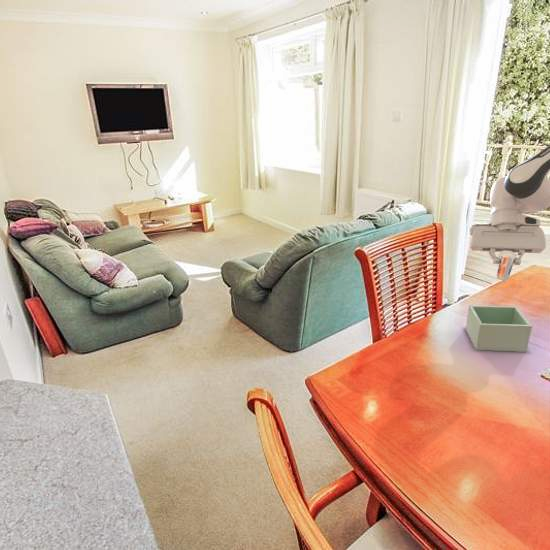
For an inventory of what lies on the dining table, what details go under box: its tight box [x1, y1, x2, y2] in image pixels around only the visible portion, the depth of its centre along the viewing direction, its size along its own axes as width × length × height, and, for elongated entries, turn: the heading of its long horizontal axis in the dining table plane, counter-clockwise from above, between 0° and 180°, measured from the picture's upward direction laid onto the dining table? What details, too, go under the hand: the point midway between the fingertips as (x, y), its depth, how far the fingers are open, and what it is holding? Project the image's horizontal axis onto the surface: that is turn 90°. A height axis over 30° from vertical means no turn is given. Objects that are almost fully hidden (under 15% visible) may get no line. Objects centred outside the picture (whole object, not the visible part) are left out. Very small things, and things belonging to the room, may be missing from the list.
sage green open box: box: [465, 304, 533, 353], centre depth 114 cm, size 14×12×9 cm
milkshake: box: [496, 250, 520, 281], centre depth 116 cm, size 4×5×10 cm
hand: (506, 263), depth 115 cm, fingers closed on milkshake, 4 cm apart
